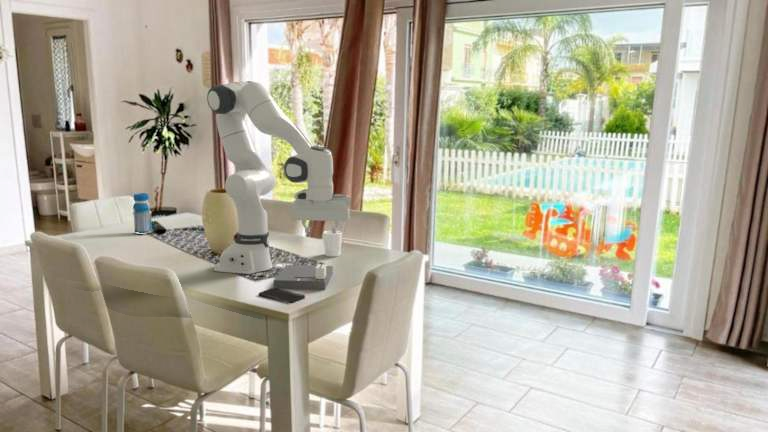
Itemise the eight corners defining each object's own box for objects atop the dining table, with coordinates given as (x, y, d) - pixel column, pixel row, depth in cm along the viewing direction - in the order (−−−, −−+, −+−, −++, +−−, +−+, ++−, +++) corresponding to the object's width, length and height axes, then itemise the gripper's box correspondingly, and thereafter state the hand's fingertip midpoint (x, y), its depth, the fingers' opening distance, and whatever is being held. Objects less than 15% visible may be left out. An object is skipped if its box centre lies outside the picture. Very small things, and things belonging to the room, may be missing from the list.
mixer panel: (273, 288, 201) (273, 279, 201) (286, 272, 221) (286, 264, 220) (325, 289, 200) (324, 281, 200) (332, 273, 220) (332, 265, 219)
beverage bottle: (141, 236, 282) (138, 195, 278) (130, 234, 286) (128, 194, 283) (156, 233, 289) (153, 193, 285) (145, 231, 293) (143, 192, 290)
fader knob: (315, 279, 201) (315, 267, 201) (318, 275, 206) (317, 263, 206) (324, 279, 201) (324, 267, 200) (326, 275, 206) (326, 264, 205)
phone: (273, 287, 200) (306, 295, 191) (273, 290, 200) (306, 298, 192) (256, 293, 193) (290, 301, 185) (256, 296, 193) (290, 305, 185)
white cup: (339, 257, 244) (338, 234, 242) (321, 256, 246) (321, 233, 244) (344, 253, 252) (343, 230, 250) (326, 252, 253) (326, 230, 251)
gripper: (351, 193, 202) (351, 231, 204) (293, 191, 203) (294, 230, 205) (349, 195, 196) (349, 235, 198) (289, 194, 197) (290, 233, 199)
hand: (320, 232), depth 202 cm, fingers open, 8 cm apart
